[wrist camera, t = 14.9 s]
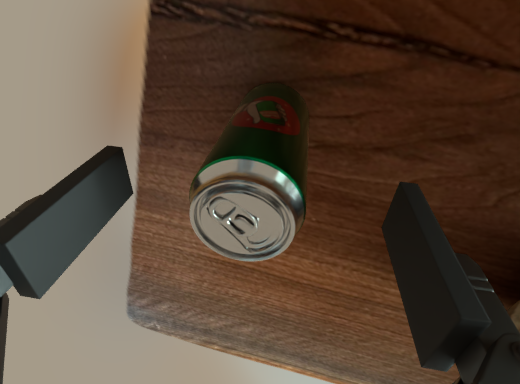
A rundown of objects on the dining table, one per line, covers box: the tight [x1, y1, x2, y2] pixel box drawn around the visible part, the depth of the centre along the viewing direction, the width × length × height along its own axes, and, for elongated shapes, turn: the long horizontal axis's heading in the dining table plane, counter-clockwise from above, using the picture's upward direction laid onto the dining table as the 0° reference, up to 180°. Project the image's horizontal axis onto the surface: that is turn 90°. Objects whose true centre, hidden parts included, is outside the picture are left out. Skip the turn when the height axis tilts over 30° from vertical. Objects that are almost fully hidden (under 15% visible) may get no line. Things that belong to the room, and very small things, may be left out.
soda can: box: [189, 83, 309, 261], centre depth 16 cm, size 5×5×12 cm
